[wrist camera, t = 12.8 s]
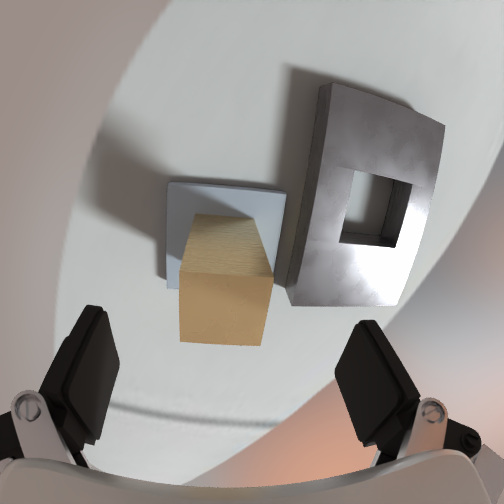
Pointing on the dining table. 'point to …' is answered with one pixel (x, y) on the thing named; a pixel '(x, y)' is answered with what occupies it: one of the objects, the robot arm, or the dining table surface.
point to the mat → (219, 203)
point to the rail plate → (337, 195)
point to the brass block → (224, 282)
